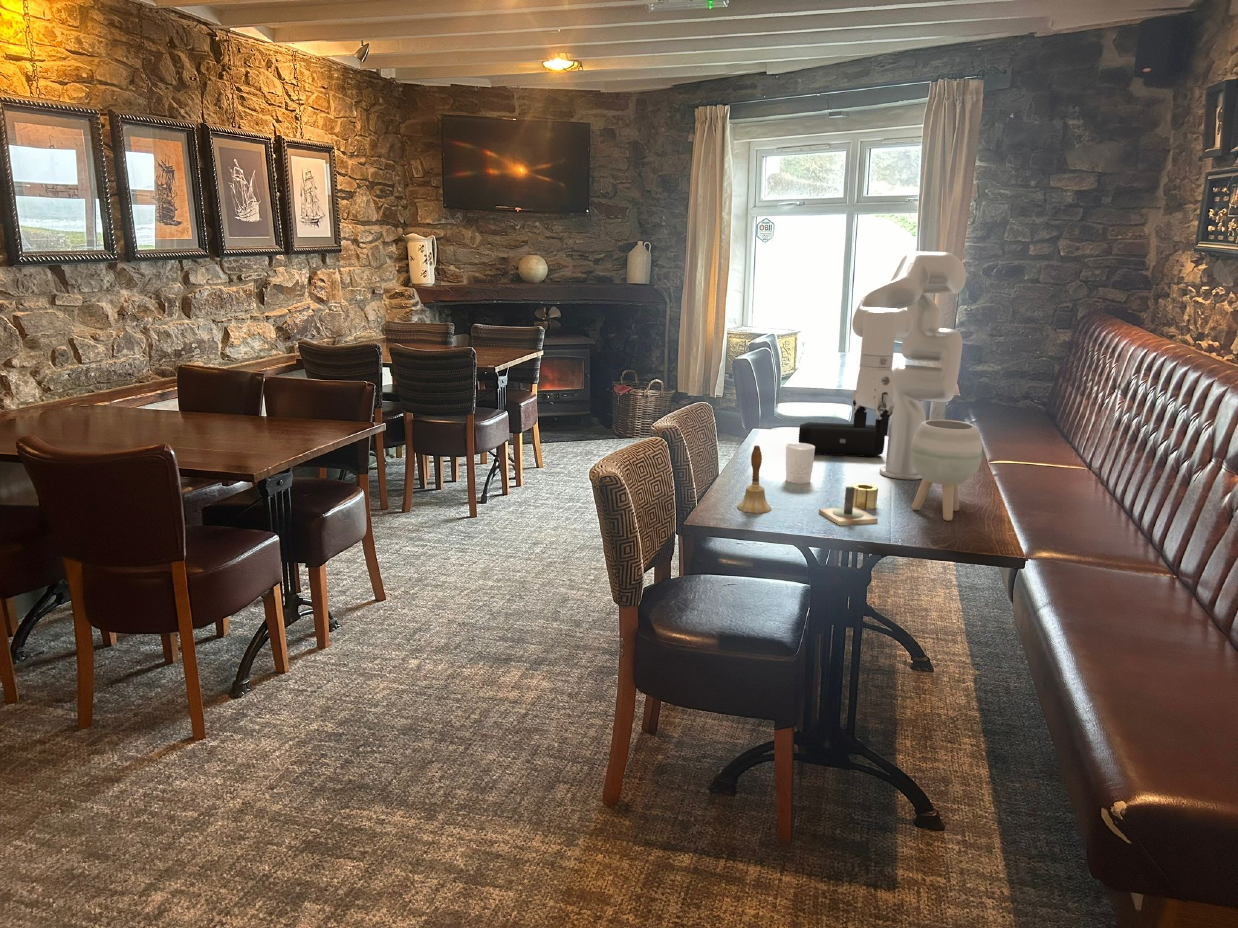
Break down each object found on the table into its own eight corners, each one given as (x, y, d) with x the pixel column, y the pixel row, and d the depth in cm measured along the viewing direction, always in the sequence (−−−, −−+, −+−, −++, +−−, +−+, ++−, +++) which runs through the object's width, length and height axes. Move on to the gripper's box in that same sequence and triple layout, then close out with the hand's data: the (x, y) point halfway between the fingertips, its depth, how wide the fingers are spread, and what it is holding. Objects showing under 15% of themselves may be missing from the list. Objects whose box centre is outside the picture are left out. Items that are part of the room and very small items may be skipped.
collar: (867, 502, 218) (869, 483, 217) (880, 508, 213) (882, 489, 211) (846, 503, 217) (848, 484, 215) (859, 510, 211) (860, 490, 210)
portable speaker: (799, 456, 267) (801, 425, 265) (797, 449, 277) (799, 419, 274) (883, 460, 264) (886, 428, 261) (878, 453, 273) (881, 422, 271)
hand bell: (763, 515, 206) (767, 451, 202) (731, 509, 210) (735, 446, 206) (776, 507, 212) (780, 444, 209) (745, 501, 217) (748, 440, 213)
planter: (968, 507, 215) (979, 420, 210) (979, 526, 200) (991, 433, 195) (901, 502, 219) (910, 416, 213) (907, 520, 204) (917, 428, 198)
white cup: (812, 485, 233) (815, 449, 231) (783, 483, 235) (785, 448, 232) (812, 478, 241) (814, 443, 238) (783, 476, 242) (786, 442, 240)
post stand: (855, 510, 211) (857, 481, 209) (877, 522, 201) (880, 492, 200) (818, 512, 208) (821, 483, 206) (839, 525, 199) (841, 494, 197)
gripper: (910, 366, 199) (903, 438, 203) (870, 357, 215) (864, 424, 219) (882, 366, 197) (875, 439, 201) (844, 358, 213) (838, 425, 217)
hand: (869, 431), depth 210 cm, fingers open, 9 cm apart
